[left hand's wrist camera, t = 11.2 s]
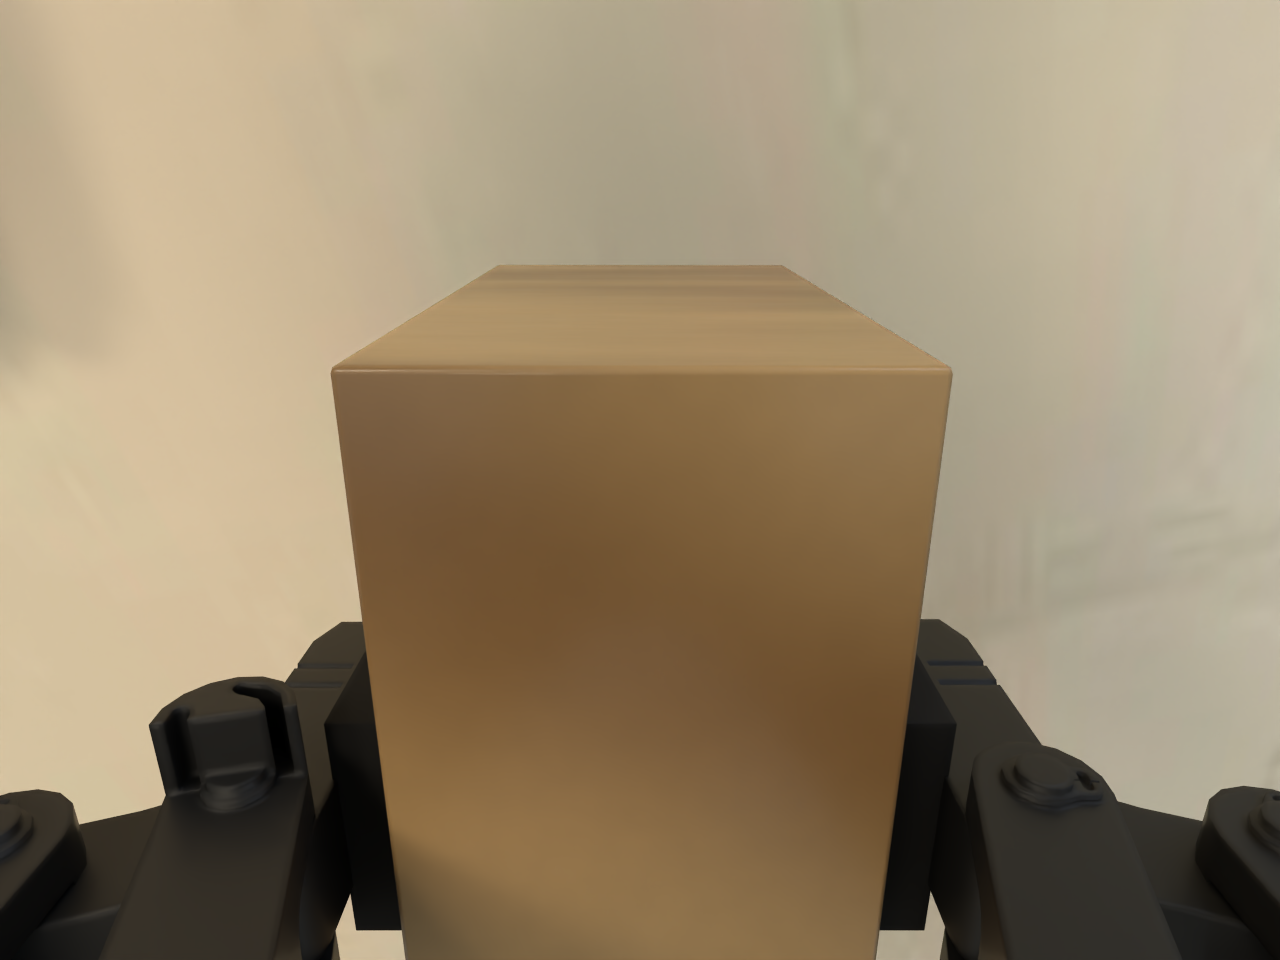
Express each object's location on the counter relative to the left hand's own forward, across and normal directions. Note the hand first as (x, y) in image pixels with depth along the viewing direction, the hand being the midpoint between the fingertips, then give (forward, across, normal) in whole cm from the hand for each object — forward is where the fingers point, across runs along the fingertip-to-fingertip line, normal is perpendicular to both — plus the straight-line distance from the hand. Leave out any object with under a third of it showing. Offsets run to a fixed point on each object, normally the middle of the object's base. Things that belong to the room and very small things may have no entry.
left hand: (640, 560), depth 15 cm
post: (+1, 0, -20) cm, 20 cm away
